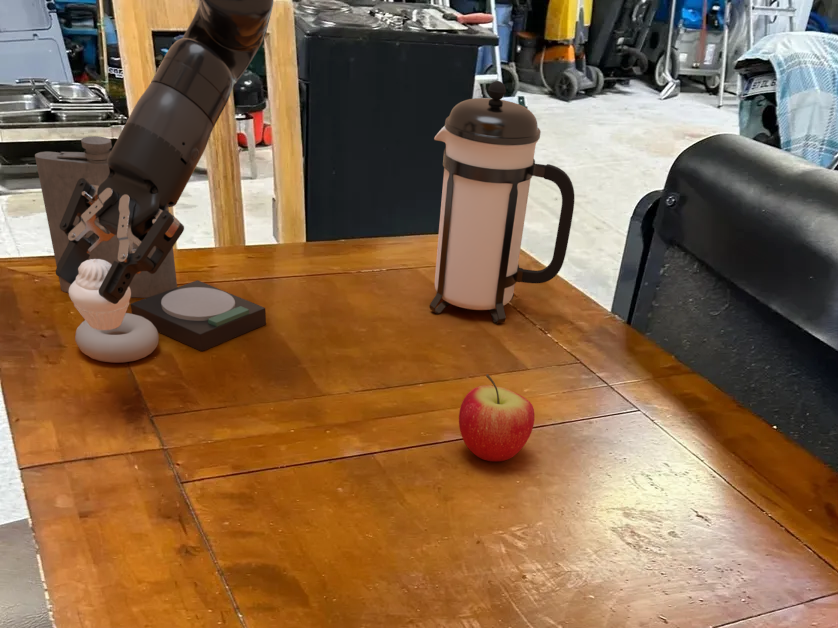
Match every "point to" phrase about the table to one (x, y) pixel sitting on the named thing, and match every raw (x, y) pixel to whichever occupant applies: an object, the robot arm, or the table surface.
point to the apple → (495, 422)
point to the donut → (118, 340)
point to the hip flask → (57, 190)
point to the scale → (200, 314)
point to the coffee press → (490, 204)
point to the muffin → (96, 296)
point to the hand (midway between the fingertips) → (85, 289)
